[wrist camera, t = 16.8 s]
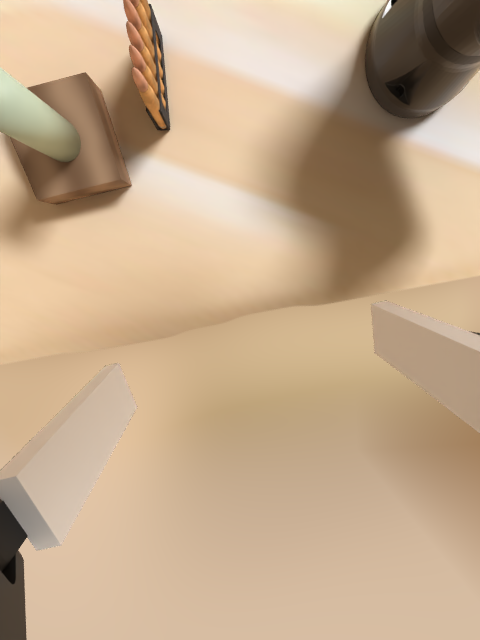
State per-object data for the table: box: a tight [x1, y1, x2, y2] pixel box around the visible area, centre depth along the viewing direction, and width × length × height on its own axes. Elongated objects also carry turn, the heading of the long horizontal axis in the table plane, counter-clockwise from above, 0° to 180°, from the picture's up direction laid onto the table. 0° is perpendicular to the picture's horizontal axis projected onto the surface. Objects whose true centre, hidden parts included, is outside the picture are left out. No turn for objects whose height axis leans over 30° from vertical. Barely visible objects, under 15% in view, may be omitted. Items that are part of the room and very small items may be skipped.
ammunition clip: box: [123, 0, 170, 130], centre depth 29 cm, size 11×2×12 cm, turn 1°
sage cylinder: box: [0, 68, 81, 162], centre depth 28 cm, size 5×5×11 cm
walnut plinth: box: [10, 72, 131, 204], centre depth 35 cm, size 12×12×4 cm
